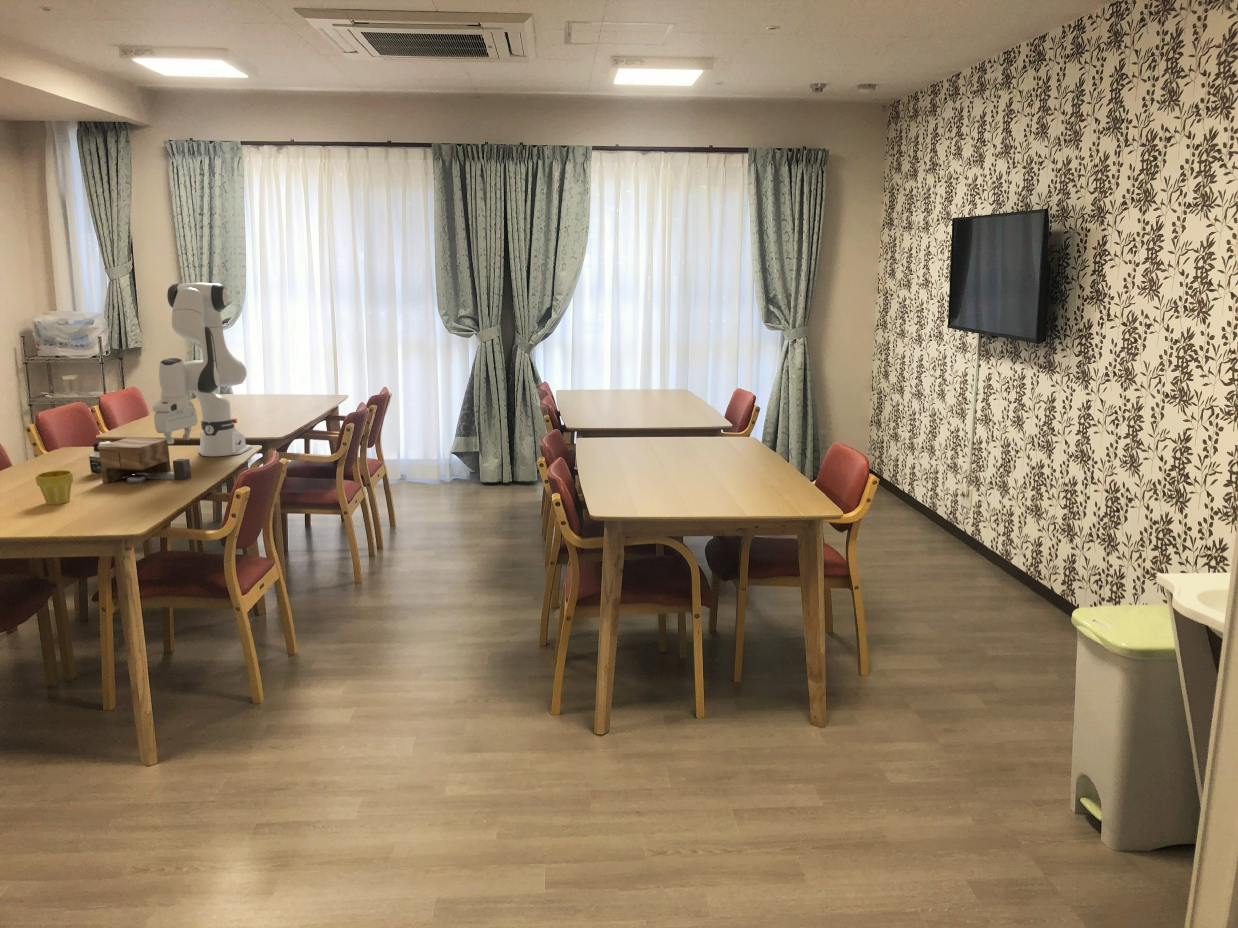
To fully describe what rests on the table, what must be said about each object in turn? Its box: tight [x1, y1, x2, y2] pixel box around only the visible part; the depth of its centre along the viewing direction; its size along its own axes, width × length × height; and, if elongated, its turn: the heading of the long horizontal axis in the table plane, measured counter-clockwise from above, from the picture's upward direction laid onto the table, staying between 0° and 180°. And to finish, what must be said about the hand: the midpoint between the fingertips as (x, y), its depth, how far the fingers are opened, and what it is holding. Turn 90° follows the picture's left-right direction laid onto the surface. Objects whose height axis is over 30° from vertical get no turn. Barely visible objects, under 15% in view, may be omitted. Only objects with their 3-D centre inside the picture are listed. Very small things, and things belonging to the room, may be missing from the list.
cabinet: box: [97, 437, 172, 484], centre depth 333 cm, size 17×16×14 cm
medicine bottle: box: [88, 440, 111, 476], centre depth 342 cm, size 7×7×12 cm
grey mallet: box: [135, 458, 192, 481], centre depth 335 cm, size 4×20×7 cm, turn 82°
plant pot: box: [35, 469, 74, 506], centre depth 300 cm, size 10×10×10 cm
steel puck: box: [125, 474, 147, 485], centre depth 329 cm, size 6×6×2 cm
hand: (178, 441), depth 332 cm, fingers open, 8 cm apart
